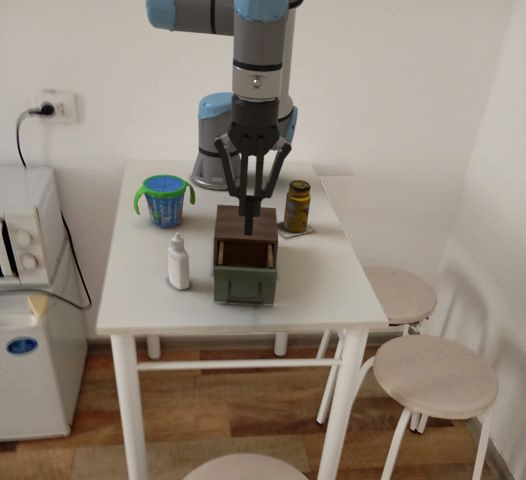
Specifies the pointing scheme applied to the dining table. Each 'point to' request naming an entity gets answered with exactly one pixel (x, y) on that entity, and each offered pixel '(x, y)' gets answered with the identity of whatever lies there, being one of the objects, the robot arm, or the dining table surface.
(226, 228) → the cabinet
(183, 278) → the eye dropper bottle
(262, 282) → the drawer
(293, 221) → the condiment
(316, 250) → the dining table surface
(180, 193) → the snack cup
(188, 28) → the robot arm
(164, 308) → the dining table surface
